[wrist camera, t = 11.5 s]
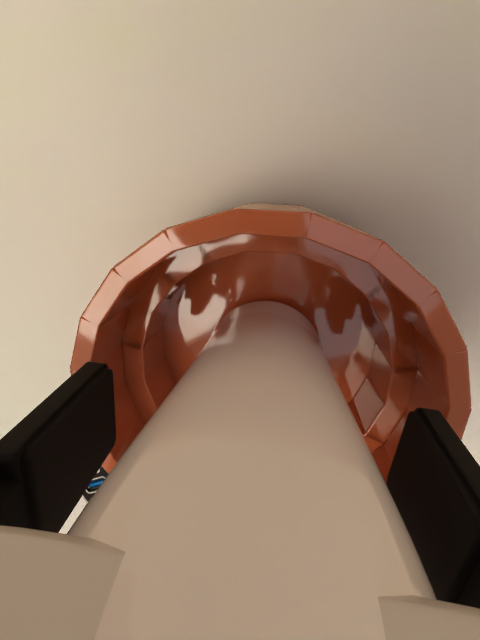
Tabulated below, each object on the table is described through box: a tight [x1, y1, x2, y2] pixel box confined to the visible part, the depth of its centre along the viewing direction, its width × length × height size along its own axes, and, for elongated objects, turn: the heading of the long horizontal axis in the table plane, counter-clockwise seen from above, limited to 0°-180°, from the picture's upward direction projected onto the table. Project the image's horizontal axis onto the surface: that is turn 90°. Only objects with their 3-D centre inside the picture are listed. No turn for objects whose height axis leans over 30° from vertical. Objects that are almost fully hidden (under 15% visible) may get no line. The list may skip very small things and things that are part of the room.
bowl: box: [70, 203, 471, 482], centre depth 14 cm, size 13×13×6 cm
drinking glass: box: [67, 301, 437, 640], centre depth 10 cm, size 7×7×15 cm
